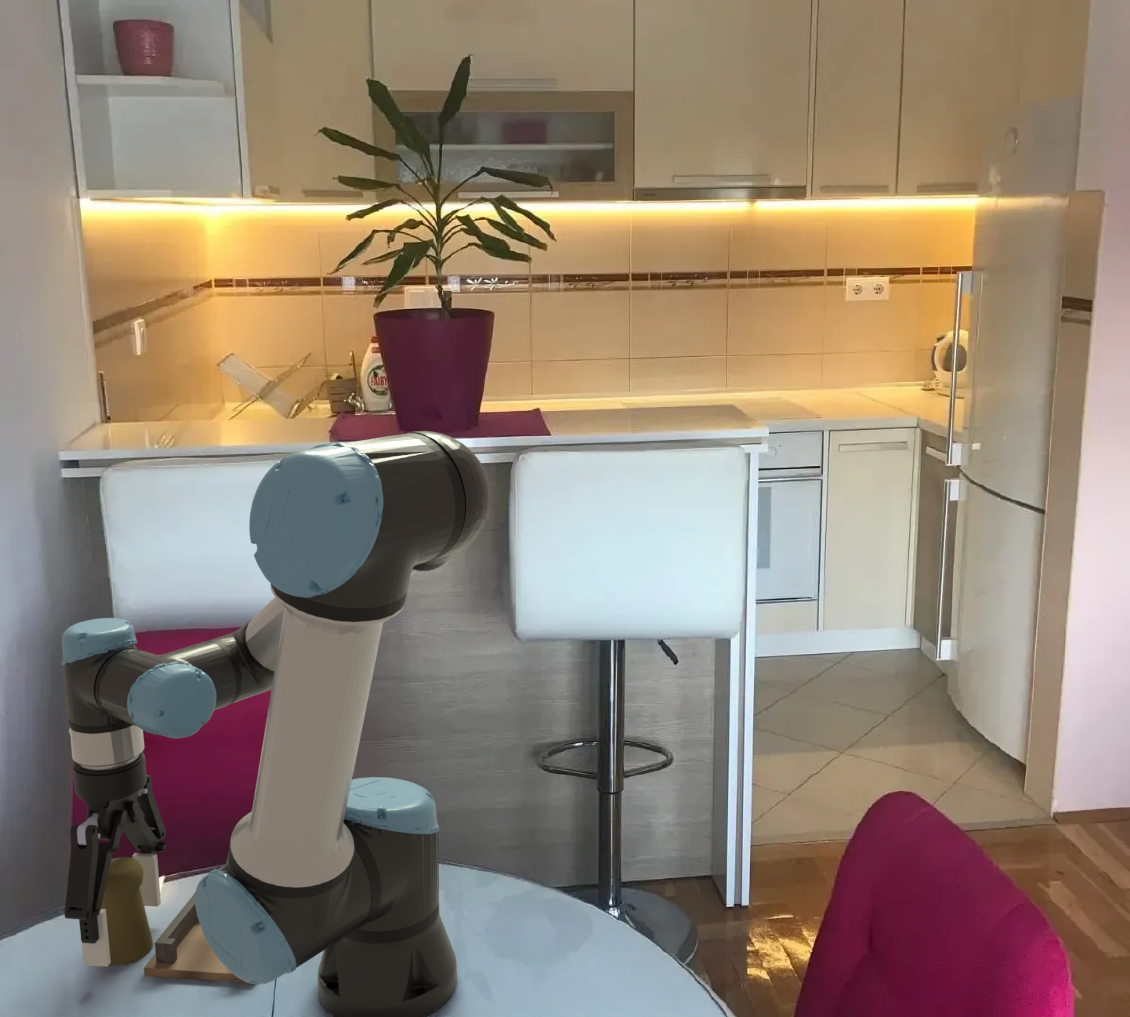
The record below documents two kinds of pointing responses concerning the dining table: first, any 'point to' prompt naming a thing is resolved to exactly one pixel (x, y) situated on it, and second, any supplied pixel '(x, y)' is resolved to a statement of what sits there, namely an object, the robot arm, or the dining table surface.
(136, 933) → the cork
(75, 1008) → the dining table surface
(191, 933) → the socket
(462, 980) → the dining table surface
